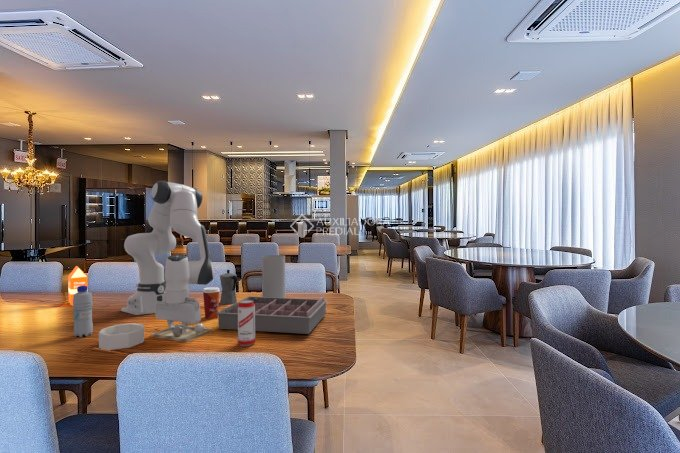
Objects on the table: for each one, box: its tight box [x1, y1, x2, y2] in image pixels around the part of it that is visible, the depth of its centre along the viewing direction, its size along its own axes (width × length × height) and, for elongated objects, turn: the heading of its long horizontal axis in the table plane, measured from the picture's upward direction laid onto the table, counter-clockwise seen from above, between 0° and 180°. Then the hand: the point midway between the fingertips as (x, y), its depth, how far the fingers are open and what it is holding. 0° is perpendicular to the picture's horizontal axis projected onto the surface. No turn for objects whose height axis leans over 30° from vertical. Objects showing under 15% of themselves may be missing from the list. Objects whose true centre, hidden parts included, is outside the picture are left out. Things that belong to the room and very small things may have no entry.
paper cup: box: [202, 286, 221, 320], centre depth 174 cm, size 8×8×14 cm
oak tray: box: [150, 323, 213, 343], centre depth 150 cm, size 18×14×2 cm
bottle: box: [72, 285, 94, 338], centre depth 149 cm, size 7×7×20 cm
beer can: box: [237, 299, 256, 347], centre depth 139 cm, size 6×6×16 cm
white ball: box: [194, 322, 206, 334], centre depth 150 cm, size 4×4×4 cm
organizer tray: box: [216, 295, 328, 335], centre depth 166 cm, size 32×40×10 cm
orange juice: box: [67, 265, 89, 306], centre depth 204 cm, size 8×9×20 cm
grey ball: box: [173, 326, 183, 336], centre depth 146 cm, size 4×4×4 cm
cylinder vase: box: [261, 254, 286, 298], centre depth 209 cm, size 12×12×25 cm
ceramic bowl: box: [98, 322, 145, 351], centre depth 140 cm, size 14×14×6 cm
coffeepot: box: [219, 269, 238, 305], centre depth 204 cm, size 15×9×18 cm, turn 43°
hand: (178, 332), depth 146 cm, fingers closed on grey ball, 4 cm apart
